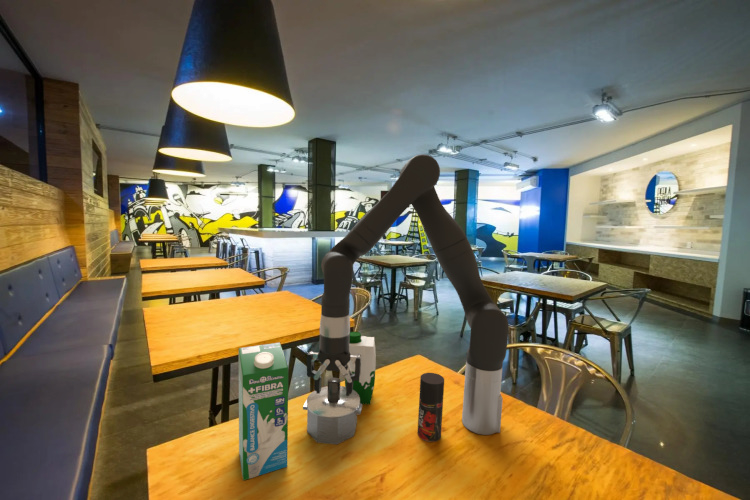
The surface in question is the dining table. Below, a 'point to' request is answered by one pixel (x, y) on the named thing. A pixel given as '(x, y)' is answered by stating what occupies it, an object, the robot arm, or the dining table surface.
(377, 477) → the dining table surface
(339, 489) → the dining table surface
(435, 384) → the deodorant
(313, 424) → the pot
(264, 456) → the milk carton
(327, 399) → the lid
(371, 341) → the soya milk
